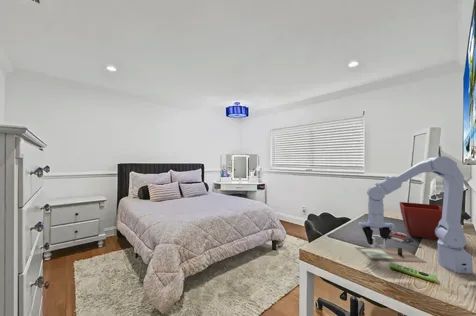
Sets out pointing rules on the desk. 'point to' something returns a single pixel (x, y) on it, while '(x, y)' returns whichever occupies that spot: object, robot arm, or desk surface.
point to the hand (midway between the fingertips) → (376, 244)
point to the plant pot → (421, 219)
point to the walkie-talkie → (401, 238)
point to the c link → (377, 241)
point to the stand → (389, 255)
